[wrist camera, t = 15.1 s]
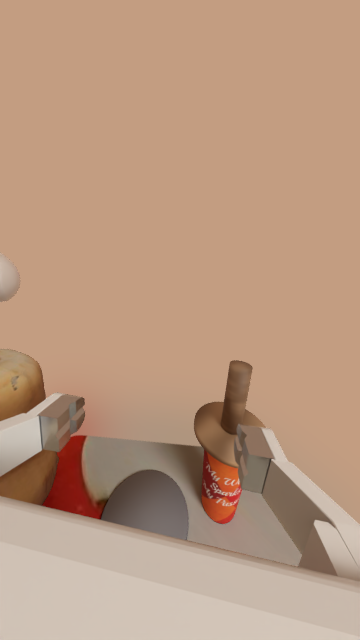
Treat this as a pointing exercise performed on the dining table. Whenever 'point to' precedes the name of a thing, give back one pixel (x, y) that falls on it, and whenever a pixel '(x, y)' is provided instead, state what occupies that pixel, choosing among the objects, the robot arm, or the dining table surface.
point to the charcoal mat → (149, 505)
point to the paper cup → (219, 489)
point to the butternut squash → (20, 397)
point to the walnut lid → (226, 416)
